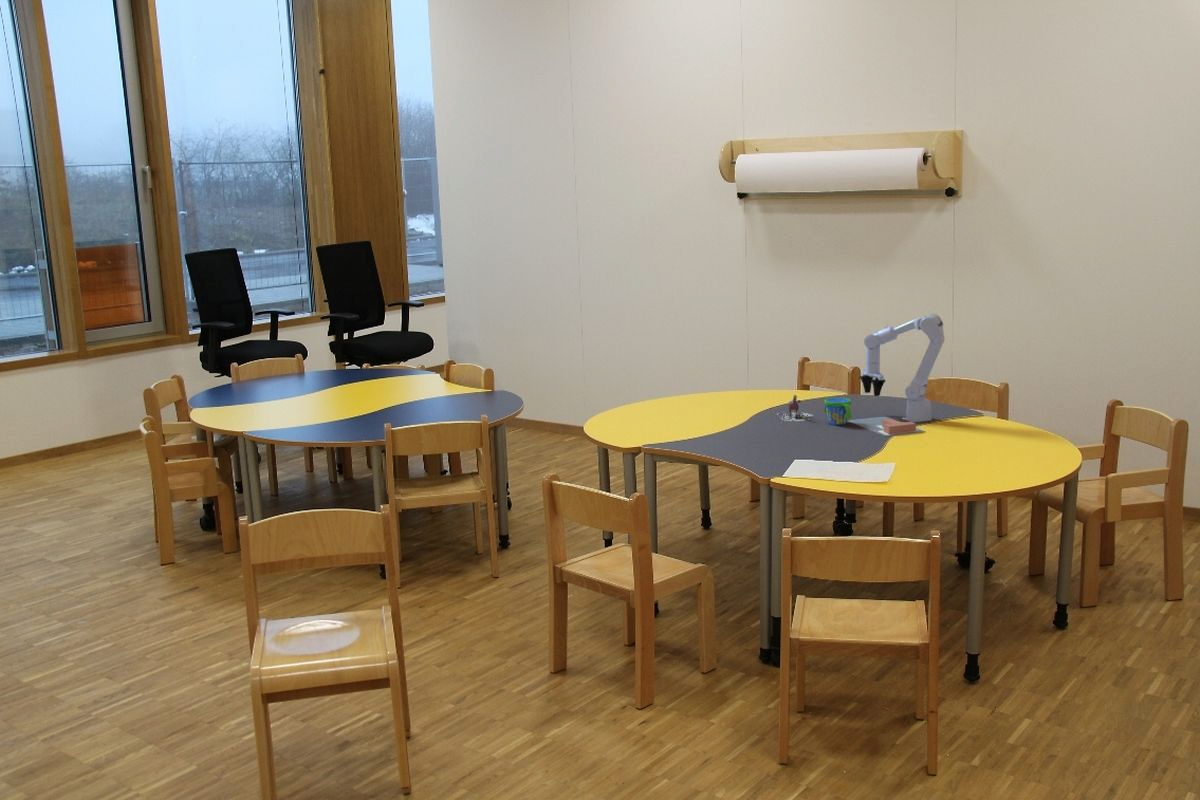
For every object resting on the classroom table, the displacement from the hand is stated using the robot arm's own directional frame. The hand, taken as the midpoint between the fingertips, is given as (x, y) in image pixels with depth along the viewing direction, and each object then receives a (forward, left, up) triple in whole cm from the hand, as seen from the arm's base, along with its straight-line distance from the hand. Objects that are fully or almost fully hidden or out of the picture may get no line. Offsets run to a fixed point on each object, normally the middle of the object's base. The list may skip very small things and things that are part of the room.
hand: (872, 394), depth 475 cm
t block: (+5, +27, -9) cm, 29 cm away
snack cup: (+20, +7, -10) cm, 23 cm away
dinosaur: (+30, -13, -10) cm, 34 cm away
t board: (+5, +19, -9) cm, 22 cm away
